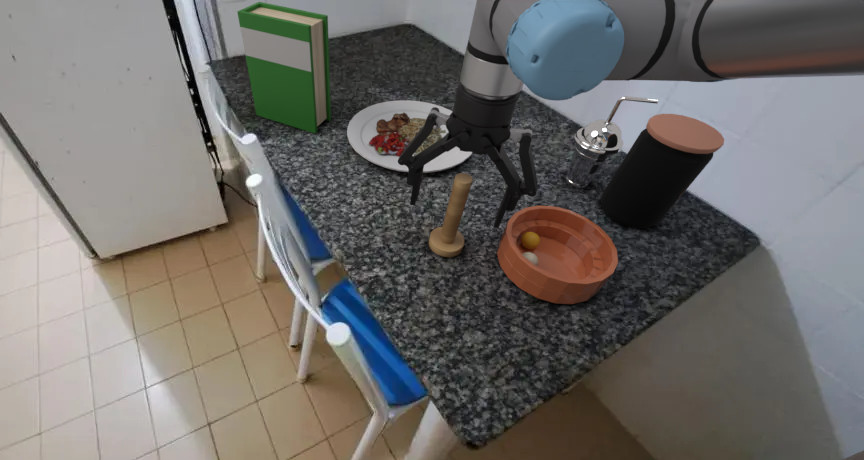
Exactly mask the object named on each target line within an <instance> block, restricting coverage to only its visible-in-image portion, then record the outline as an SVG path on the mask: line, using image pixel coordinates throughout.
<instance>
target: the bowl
mask: <svg viewBox="0 0 864 460" xmlns="http://www.w3.org/2000/svg"><path fill="white" fill-rule="evenodd" d="M527 232H534V233H536V234H537V235H538V236H539V238H540V243H539V245H538V246H537V247H536V248H534V249H527V248H525V247H524V246H523V245H522V243H521V238H522V236H523V235H524V234H525V233H527ZM525 252H531V253H533V254H535V255H536V256H537V258H538V265H537V266H535V265H534V264H533V263H531V262H530V261H529V260H528V259H527V258H525V257H524V256H523V255H522V254H523V253H525ZM496 255H497V260H498V263H499V266H500V268H501V270H502V271H503V272H504V274H505V276H506V277H507V279H509V280H510V281H511V283H513V284H514V285H515V286H517V287H518V289H520V290H522V291H524V292H525V293H527V294H528V295H531V296H532V297H534V298H536V299H539V300H542V301H546V302H548V303H551V304H558V305H559V304H560V305H574V304H579V303H582V302H583V303H584V302H587V301H589V300H590V299H591V298H593V297H594V296H595V295H597V294H598V292H600V290H601V289H602V288H603V286H604V285H605V284H606V283H607V281H608V280H609V279H610V278H611V276H613V274H614V272H615V270H616V268H617V266H618V265H619V257H618V249H617V247H616V246H615V244H614V242H613V240H612V238H611V237H610V235H608V234H607V233H606V231H604V229H602V227H600V226H599V225H598V224H596V223H595V222H594V221H592V220H590V219H589V218H588V217H586V216H584V215H582V214H580V213H577V212H575V211H572V210H570V209H568V208H564V207H559V206H555V205H533V206H528V207H523V208H522V209H520V210H518V211H516V212H515V213H513V214H512V216H511V217H510V218H509V219H508V221H507V223H506V225H505V227H504V230H503V232H502V234H501V237H500V239H499V241H498V246H497V251H496Z"/></svg>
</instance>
